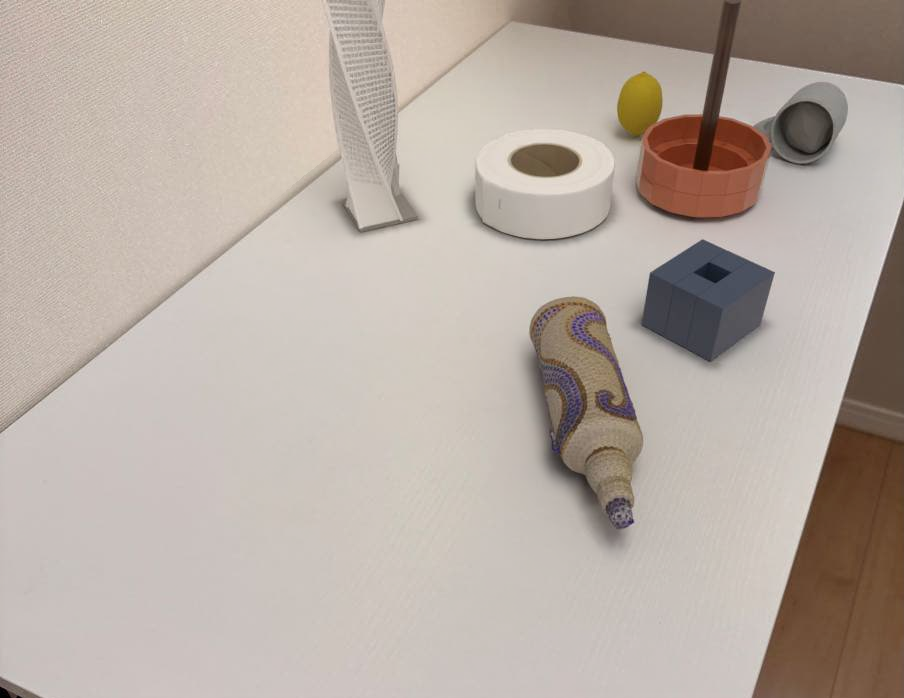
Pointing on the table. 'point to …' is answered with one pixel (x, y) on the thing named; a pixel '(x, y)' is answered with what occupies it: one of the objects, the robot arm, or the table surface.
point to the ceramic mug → (807, 123)
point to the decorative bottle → (588, 401)
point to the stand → (706, 299)
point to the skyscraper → (365, 113)
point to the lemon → (639, 103)
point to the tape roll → (543, 183)
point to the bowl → (695, 191)
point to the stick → (716, 83)
